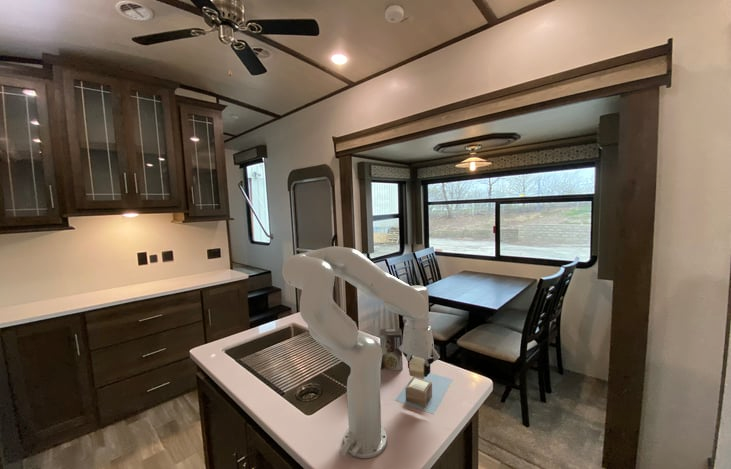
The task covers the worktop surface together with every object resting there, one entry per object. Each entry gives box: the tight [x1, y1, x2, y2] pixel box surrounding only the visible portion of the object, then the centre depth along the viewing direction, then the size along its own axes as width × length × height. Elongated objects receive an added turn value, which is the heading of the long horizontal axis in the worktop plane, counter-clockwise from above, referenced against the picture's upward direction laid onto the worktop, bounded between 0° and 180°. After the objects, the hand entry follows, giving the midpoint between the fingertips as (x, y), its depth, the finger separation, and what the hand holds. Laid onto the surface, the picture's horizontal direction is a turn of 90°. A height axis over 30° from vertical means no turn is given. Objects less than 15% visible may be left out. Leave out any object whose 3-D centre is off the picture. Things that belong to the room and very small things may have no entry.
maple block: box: [408, 356, 425, 379], centre depth 99 cm, size 5×5×5 cm
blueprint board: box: [394, 372, 453, 415], centre depth 104 cm, size 22×14×6 cm, turn 147°
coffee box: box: [379, 328, 404, 372], centre depth 120 cm, size 9×6×16 cm
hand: (419, 372), depth 99 cm, fingers closed on maple block, 5 cm apart
